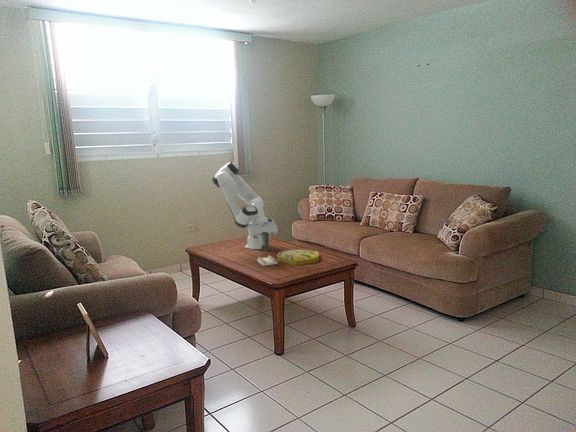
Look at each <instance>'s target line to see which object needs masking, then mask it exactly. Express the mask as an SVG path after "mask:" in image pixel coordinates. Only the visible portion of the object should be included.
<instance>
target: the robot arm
mask: <svg viewBox="0 0 576 432" xmlns="http://www.w3.org/2000/svg"><path fill="white" fill-rule="evenodd" d="M239 173H240V168H239V165H237V164H236V163H235V162H234V161H229V162H227V163H226V164H225V165H223V166H222V167H220V169H219V170H218V171H217V172H216V173H215V174H214V175H213V176H212V178H211V179H212V182H213V185H215V186H216V187H217V188H220V189H221V190H222V192H223V195H224V197H225V201H226V204H227V206H228V208H229V210H230V213H231V214H232V216H233V218H234V219H233V220H234V224H235V225H236V226H237V227H238V228H242V229H245V228H247V230H248V236H247V238H246V239H247V244H246V245H245V247H244V248H246V249H250V250H261V249H262V248H261V246H262V241H263V240H264V239H263V237H262V232H268V233H269V241H271V235H277V234H278V232H279V230H278V229H279V228H278V226H277V224H276V223H275V221H274V219H272V218H268V217H266V216H265V211H264V209H263V208H264V200H263V199H262V197H261V196H259V194H257V193H256V191H254V189H252V188H251V187H250V185H249V184H248V183H247V181H246V180H244V179H243V178H242V177H241V176H240V175H239ZM238 198H240V199H241V200H242V201H243V202H244V203H246V204H247V205H243V206H242V207H241V209H240V207H239V205H238ZM269 247H270V245H269ZM270 248H271V247H270ZM262 250H263V249H262Z"/></svg>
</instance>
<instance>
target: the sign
mask: <svg viewBox="0 0 576 432" xmlns="http://www.w3.org/2000/svg"><path fill="white" fill-rule="evenodd" d="M318 261H320V254H319V252H318V251H317V250H311V249H310V250H306V249H288V250H283V251H280V252H278V254H277V262H283V263H285V264H288V265H293V266H301V265H309V263H310V264H314V263H316V262H318Z"/></svg>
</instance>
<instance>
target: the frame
mask: <svg viewBox="0 0 576 432" xmlns="http://www.w3.org/2000/svg"><path fill="white" fill-rule="evenodd" d="M262 237H263V239H264V240H263V241H262V246H261V248H262V250H263V251H267V250H271V247H269V246H270V240H269V233H268V232H262Z"/></svg>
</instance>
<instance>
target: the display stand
mask: <svg viewBox="0 0 576 432" xmlns="http://www.w3.org/2000/svg"><path fill="white" fill-rule="evenodd" d="M256 261H257V262H258V263H259V264H260V265H262V266H271V265H277V264H278V260H277V259H275V257H273V256H272V255H267V257H261V256H258V257H257V258H256Z"/></svg>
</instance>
